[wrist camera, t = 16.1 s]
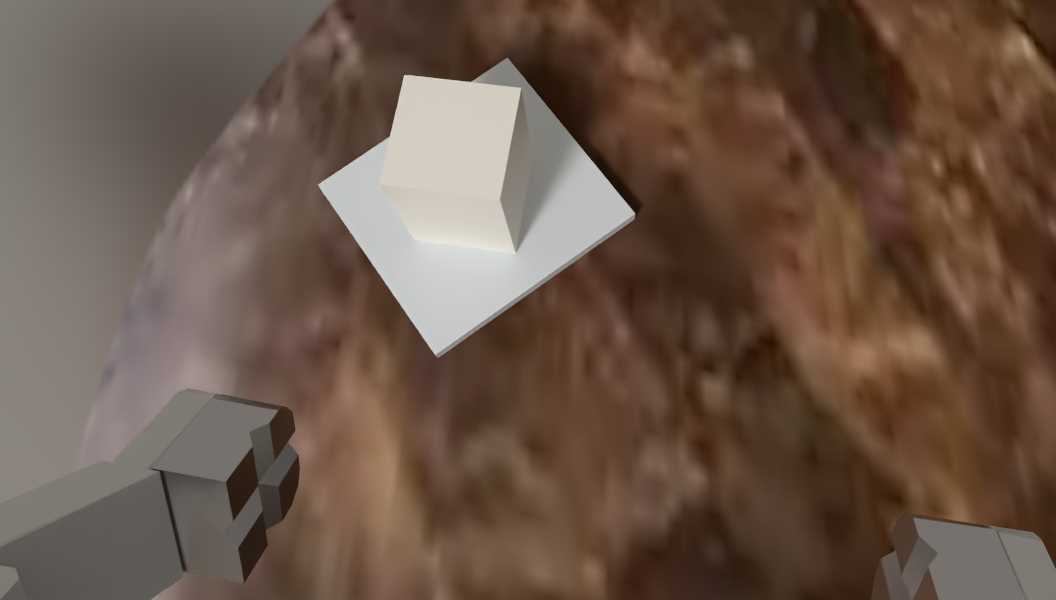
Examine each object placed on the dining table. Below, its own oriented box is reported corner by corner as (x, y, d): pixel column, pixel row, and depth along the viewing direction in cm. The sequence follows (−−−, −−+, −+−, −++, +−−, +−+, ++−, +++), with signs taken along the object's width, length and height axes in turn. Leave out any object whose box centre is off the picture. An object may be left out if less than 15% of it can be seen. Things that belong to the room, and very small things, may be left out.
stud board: (508, 65, 47) (497, 3, 41) (634, 219, 44) (640, 175, 38) (322, 190, 46) (284, 144, 40) (438, 358, 43) (414, 333, 37)
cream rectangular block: (434, 146, 45) (404, 75, 38) (533, 158, 44) (521, 88, 37) (414, 239, 44) (378, 184, 36) (515, 253, 43) (499, 199, 36)
